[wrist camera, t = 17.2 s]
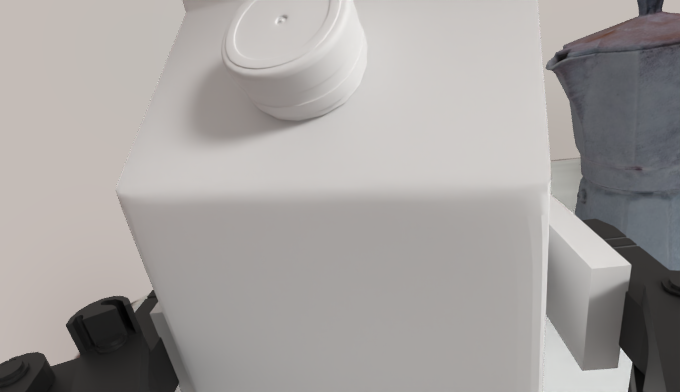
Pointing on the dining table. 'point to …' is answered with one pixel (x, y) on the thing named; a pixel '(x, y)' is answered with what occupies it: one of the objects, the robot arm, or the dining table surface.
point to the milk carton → (349, 195)
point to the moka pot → (629, 127)
